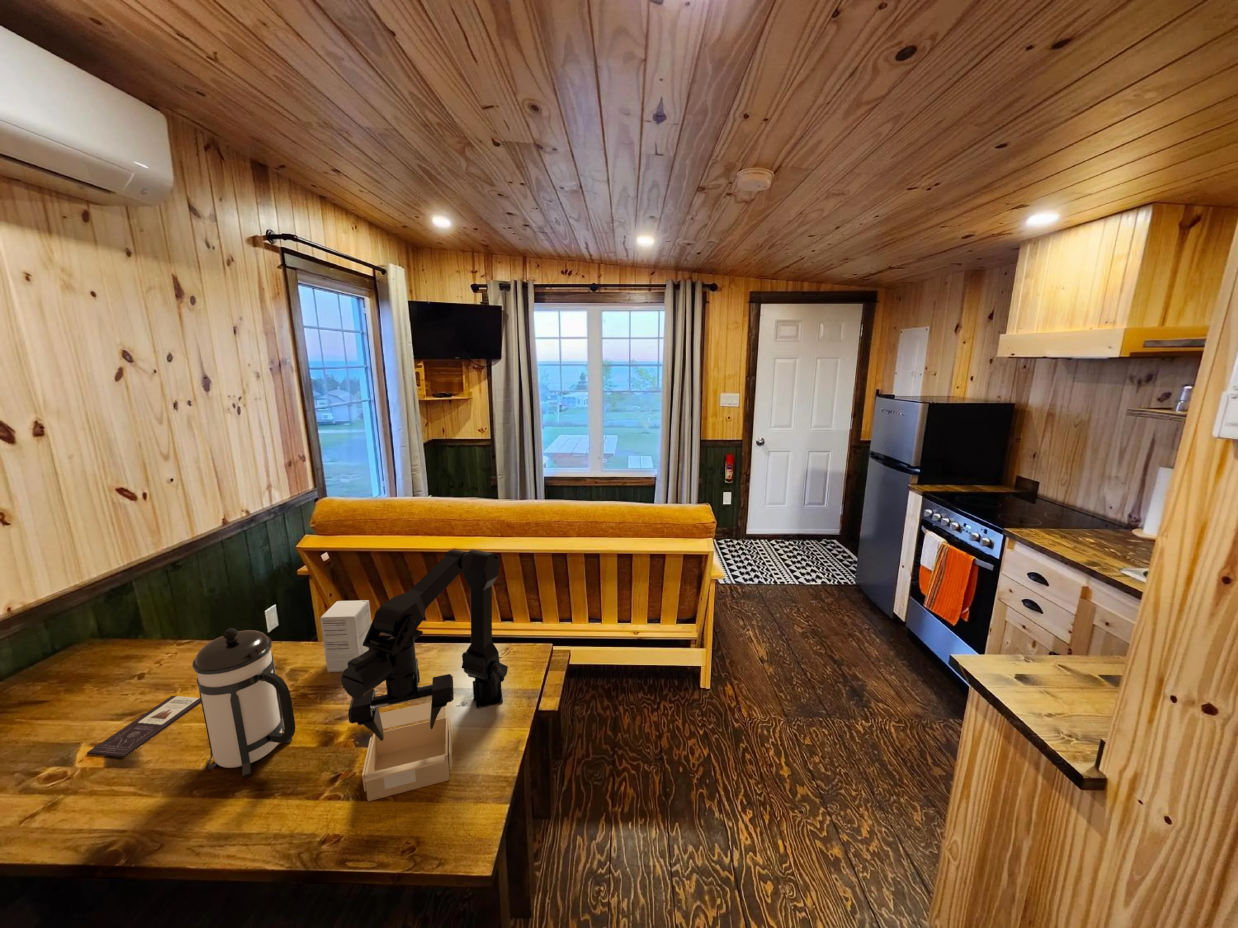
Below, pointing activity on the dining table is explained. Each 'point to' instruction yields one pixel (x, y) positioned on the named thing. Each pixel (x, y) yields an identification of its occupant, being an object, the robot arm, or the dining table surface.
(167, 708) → the chocolate bar
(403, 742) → the carton
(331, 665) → the supplement box
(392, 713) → the tan cardboard box flap
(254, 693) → the coffee press
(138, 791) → the dining table surface
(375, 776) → the flap camera side
